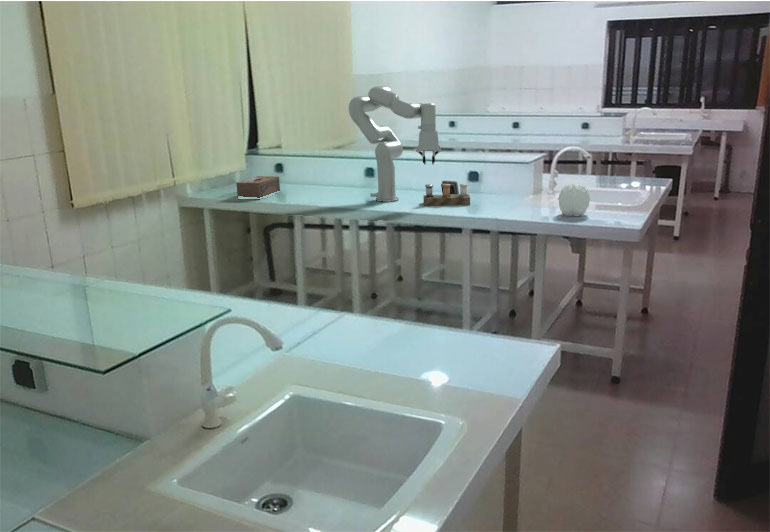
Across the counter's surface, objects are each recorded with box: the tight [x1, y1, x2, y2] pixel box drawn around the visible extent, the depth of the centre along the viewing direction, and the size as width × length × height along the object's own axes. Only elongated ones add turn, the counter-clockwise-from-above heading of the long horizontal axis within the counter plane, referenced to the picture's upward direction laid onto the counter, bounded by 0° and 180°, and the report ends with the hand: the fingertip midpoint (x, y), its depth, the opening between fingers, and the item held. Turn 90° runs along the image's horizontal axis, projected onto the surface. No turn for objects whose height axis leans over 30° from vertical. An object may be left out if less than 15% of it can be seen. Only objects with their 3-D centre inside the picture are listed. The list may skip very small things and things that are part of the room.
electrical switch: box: [440, 180, 460, 195], centre depth 362 cm, size 9×5×9 cm, turn 57°
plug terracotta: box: [441, 183, 450, 197], centre depth 343 cm, size 4×4×7 cm
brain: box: [557, 183, 591, 217], centre depth 307 cm, size 14×18×18 cm
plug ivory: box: [459, 183, 469, 197], centre depth 342 cm, size 4×4×7 cm
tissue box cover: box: [235, 175, 281, 198], centre depth 387 cm, size 26×14×10 cm, turn 162°
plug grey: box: [424, 183, 434, 197], centre depth 343 cm, size 4×4×7 cm
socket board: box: [423, 193, 471, 207], centre depth 344 cm, size 24×10×4 cm, turn 88°
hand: (428, 163), depth 339 cm, fingers open, 3 cm apart
